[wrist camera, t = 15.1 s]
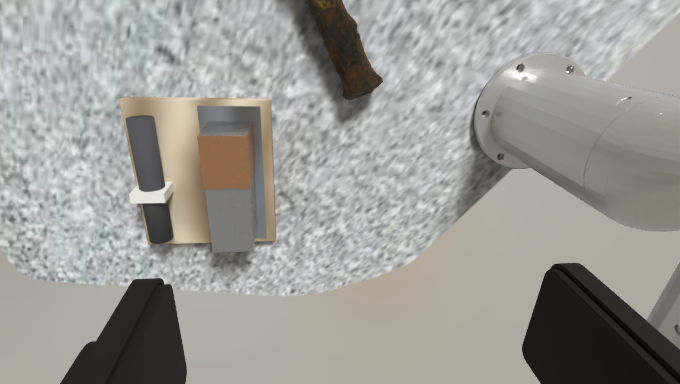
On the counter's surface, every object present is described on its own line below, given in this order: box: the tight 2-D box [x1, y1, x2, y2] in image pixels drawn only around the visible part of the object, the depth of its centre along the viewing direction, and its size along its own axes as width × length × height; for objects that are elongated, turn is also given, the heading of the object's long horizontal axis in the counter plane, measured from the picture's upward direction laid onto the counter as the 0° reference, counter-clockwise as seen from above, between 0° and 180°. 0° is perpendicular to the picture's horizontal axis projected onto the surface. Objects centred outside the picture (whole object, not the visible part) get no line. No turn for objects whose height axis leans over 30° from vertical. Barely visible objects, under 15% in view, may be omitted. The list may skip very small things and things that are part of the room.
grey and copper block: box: [197, 121, 258, 252], centre depth 38 cm, size 4×12×5 cm, turn 178°
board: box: [119, 97, 276, 244], centre depth 41 cm, size 14×16×1 cm
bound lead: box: [125, 115, 174, 244], centre depth 38 cm, size 3×13×3 cm, turn 178°
